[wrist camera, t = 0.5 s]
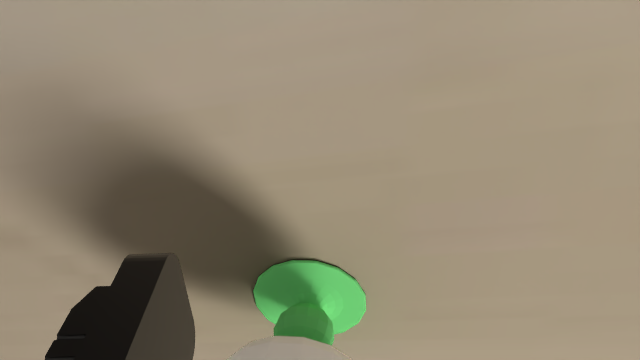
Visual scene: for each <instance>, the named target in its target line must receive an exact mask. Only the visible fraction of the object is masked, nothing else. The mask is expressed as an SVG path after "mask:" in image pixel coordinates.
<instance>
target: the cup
mask: <svg viewBox="0 0 640 360" xmlns="http://www.w3.org/2000/svg"><path fill="white" fill-rule="evenodd" d="M253 293H254V298H255V302H256V306H257V307H258V309H259V310H260V311H261V312H262V314H263V315H264V316H265V317H266V318H267V319H268V320H269V321H271V322H272V323H274V324H276V325H275V327H274V336H272V337H268V338H264V339H259V340H255V341H251V342H250V343H248V344H247V345H245V346H244V347H242V348H241V349H240V350H238V351H237V352H235V353H234V354H233V355H231V356H230V357H229V358H228V359H226V360H352V359H351V358H350V357H348V356H347V355H345V354H344V353H342V352H340V351H339V350H337V349H336V348H334V347H332V344H333V341H334V334H338V333H343V332H345V331H346V330H348V329H350V328H351V327H353V326H354V325H356V324H358V323H359V321H360V319H361V318H362V316H363V314H364V313H365V311H366V298H365V293H364V291H363V290H362V288H361V287H360V285H359V284H358V282H357V281H356V279H354V278H353V277H351V276H350V275H348V274H347V273H346V272H344V271H343V270H341V269H340V268H338V267H335V266H332V265H329V264H325V263H322V262H319V261H312V260H291V261H287V262H284V263H280V264H276V265H273V266H271V267H270V268H269V269H268V270H266V271H265V272H264V273H262V274H261V275H260V276H259V277H258V280H257V282H256V285H255V287H254V290H253Z"/></svg>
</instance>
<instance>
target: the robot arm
mask: <svg viewBox="0 0 640 360" xmlns="http://www.w3.org/2000/svg"><path fill="white" fill-rule="evenodd" d="M194 348H195V326H194V320H193V316H192V311H191V307H190V303H189V299H188V295H187V291H186V287H185V283H184V279H183V275H182V271H181V267H180V263H179V260H178V258H177V256H176V255H175V254H173V253H164V254H133V255H128V256H127V257H126V258H125V259H124V261H123V262H122V264H121V266H120V268H119V270H118V272H117V274H116V276H115V278H114V280H113V282H112V284H111V286H97V287H95V288H94V289H93V290H92V291H91V292H90V293H89V294H87V295H86V296H85V297H84V298H83V299H82V300H81V301H80V302H79V303H78V304H76V305H75V306H74V307H73V308H72V309H71V311H70V313H69V314H68V316H67V318H66V320H65V321H64V323H63V325H62V327H61V329H60V330H59V332H58V334H57V340H54V341H53V343H52V345H51V347H50V348H49V350H48V352H47V354H46V355H45V360H192V359H193V354H194Z"/></svg>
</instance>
